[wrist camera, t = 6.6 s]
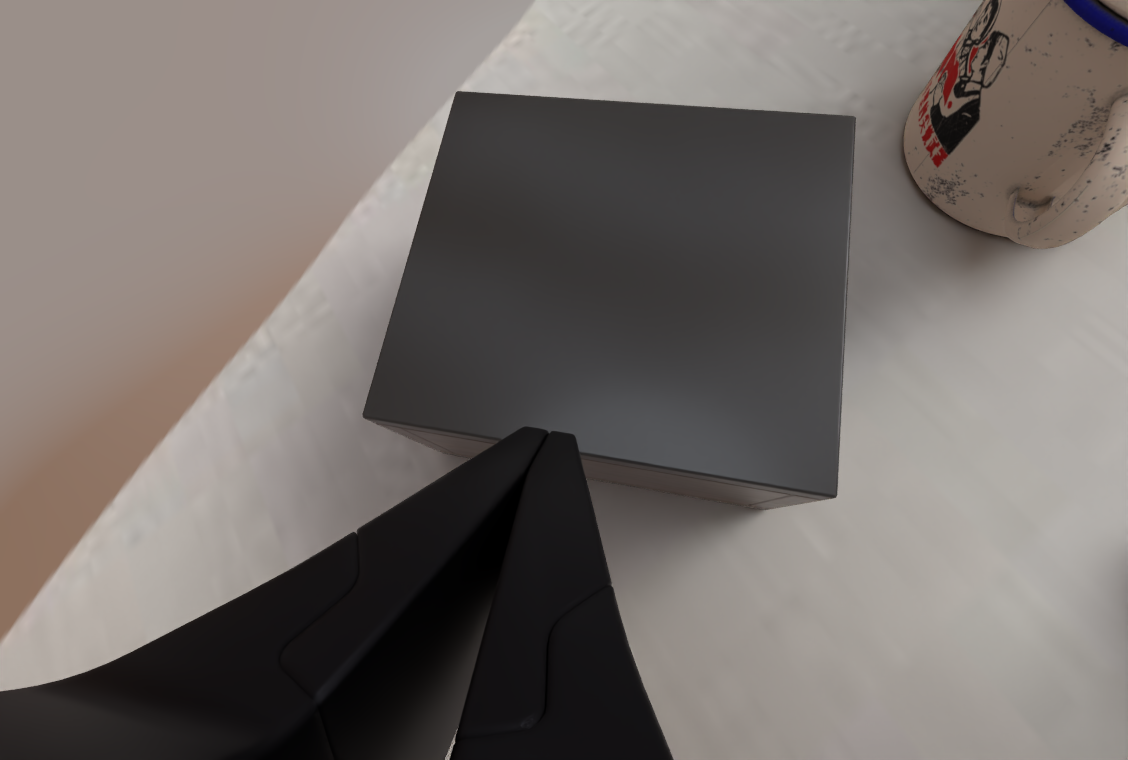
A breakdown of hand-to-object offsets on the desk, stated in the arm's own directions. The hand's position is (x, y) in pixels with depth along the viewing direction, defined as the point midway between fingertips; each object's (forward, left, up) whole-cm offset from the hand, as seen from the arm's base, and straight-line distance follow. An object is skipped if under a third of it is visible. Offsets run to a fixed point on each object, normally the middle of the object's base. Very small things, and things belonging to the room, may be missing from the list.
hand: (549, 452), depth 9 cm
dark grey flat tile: (+6, +2, -6) cm, 9 cm away
